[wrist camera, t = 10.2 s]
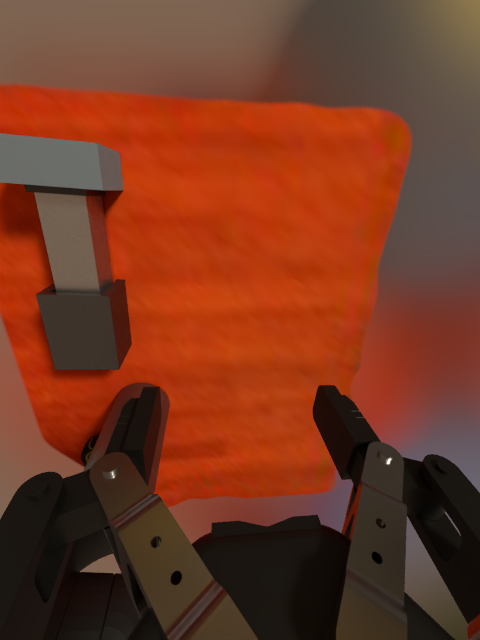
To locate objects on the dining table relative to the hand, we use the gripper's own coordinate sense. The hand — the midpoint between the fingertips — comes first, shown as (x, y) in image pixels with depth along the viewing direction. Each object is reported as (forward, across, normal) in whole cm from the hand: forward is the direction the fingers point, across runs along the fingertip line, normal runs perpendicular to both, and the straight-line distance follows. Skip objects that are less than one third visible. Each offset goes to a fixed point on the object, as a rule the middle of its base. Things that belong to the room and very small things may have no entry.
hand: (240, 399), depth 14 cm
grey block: (+28, +17, -11) cm, 35 cm away
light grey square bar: (+28, +17, -3) cm, 33 cm away
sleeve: (+28, +17, +8) cm, 34 cm away
